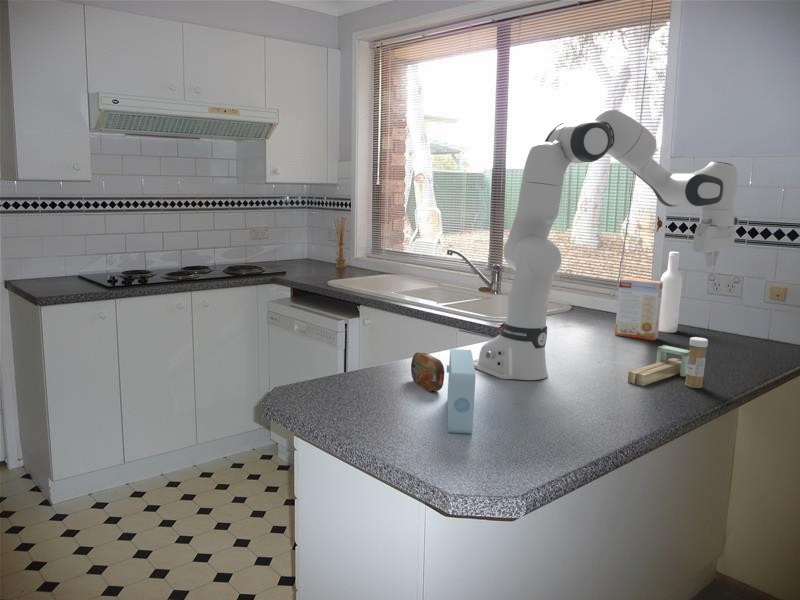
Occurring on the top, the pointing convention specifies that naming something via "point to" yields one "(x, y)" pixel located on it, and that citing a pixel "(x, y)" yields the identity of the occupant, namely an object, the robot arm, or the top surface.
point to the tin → (427, 371)
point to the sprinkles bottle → (696, 362)
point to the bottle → (670, 295)
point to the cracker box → (638, 308)
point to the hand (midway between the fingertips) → (710, 266)
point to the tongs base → (633, 374)
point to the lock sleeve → (664, 349)
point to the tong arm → (658, 373)
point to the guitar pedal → (461, 391)
